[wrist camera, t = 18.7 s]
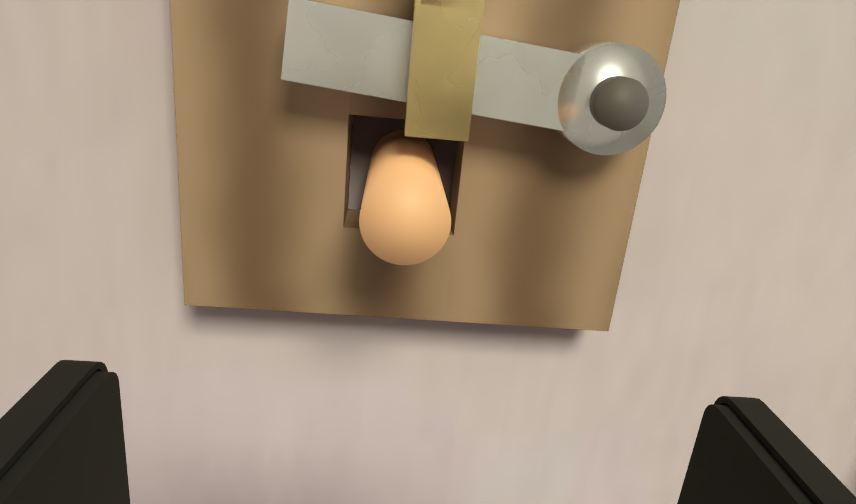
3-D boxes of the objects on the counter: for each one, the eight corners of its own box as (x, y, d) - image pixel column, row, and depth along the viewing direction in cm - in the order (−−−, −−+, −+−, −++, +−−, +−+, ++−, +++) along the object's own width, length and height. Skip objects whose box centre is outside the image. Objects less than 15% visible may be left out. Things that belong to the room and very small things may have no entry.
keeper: (475, -40, 25) (490, -53, 21) (457, 123, 27) (468, 141, 23) (416, -47, 25) (420, -61, 21) (403, 119, 27) (404, 136, 23)
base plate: (658, -30, 28) (736, -46, 22) (590, 305, 34) (636, 372, 27) (190, -81, 27) (123, -115, 20) (203, 280, 32) (154, 344, 26)
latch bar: (656, 51, 26) (680, 54, 24) (626, 152, 28) (647, 163, 25) (300, -20, 25) (290, -24, 22) (289, 91, 26) (278, 97, 24)
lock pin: (437, 133, 30) (455, 181, 21) (431, 195, 31) (446, 268, 22) (372, 127, 30) (361, 173, 21) (369, 190, 31) (356, 262, 22)
